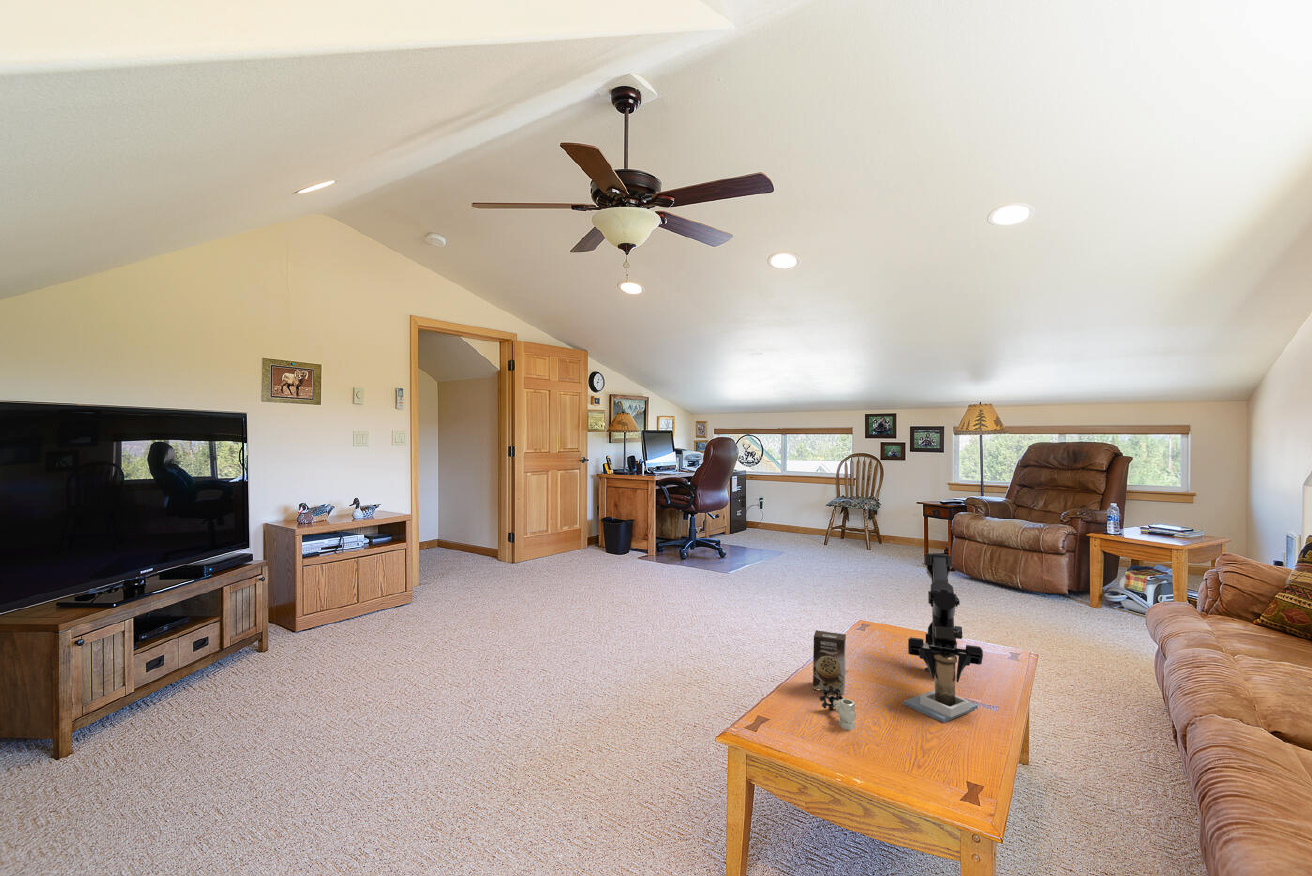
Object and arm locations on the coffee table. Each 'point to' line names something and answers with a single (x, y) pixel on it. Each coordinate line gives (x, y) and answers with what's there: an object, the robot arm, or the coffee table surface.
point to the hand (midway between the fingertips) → (945, 679)
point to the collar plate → (939, 706)
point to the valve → (840, 707)
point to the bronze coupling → (945, 678)
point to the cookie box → (829, 661)
